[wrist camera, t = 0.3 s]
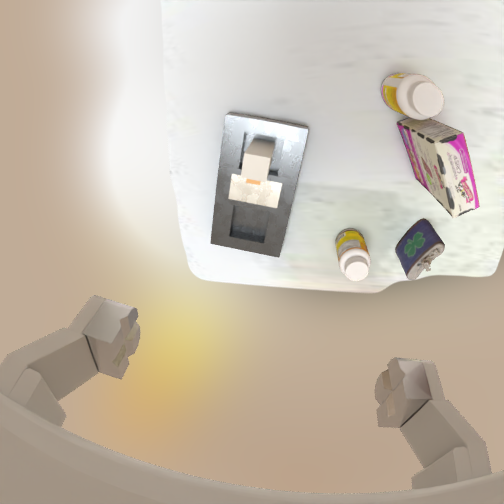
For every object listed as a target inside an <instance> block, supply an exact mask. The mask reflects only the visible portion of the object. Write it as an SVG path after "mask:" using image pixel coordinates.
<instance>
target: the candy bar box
mask: <svg viewBox="0 0 504 504" xmlns="http://www.w3.org/2000/svg"><path fill="white" fill-rule="evenodd" d="M397 125H398V128H399V130H400V133H401V135H402V138H403V141H404V144H405V147H406V149H407V152H408V155H409V158H410V161H411V164H412V167H413V170H414V174H415V177H416V179H417V180H418V181H419V182H420V183H421V184H422V185H423V186H424V187H425V188H426V189H427V190H428V191H429V192H430V193H431V194H432V195H433V196H434V197H435V199H436V200H437V201H438V202H439V203H440V204H441V205H442V206H443V207H444V208H445V209H446V210H447V211H448V213H449V214H450V215H451V216H452V217H453V218H455V217H458V216H460V215H462V214H464V213H466V212H469V211H470V210H475V209H476V208H478V207H480V206H479V200H478V194H477V189H476V184H475V179H474V174H473V170H472V165H471V161H470V156H469V152H468V148H467V144H466V140H465V137H464V133H463V132H461V131H458V130H456V129H454V128H451V127H449V126H447V125H444V124H442V123H439V122H437V121H435V120H432V119H429V118H428V119H425V120H417V119H413V118H409V119H405V120H402V121H399V122H397Z"/></svg>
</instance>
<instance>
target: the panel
mask: <svg viewBox="0 0 504 504" xmlns="http://www.w3.org/2000/svg"><path fill="white" fill-rule="evenodd" d="M307 135H308V127H307V126H303V125H298V124H293V123H288V122H283V121H278V120H273V119H268V118H262V117H256V116H250V115H244V114H237V113H231V112H229V113H228V114H226V116H225V123H224V131H223V138H222V146H221V154H220V162H219V170H218V179H217V187H216V196H215V205H214V215H213V224H212V234H211V244H215V245H220V246H225V247H230V248H235V249H240V250H245V251H249V252H254V253H259V254H264V255H269V256H274V257H279V256H280V252H281V248H282V244H283V240H284V236H285V231H286V227H287V223H288V219H289V214H290V210H291V206H292V202H293V197H294V193H295V189H296V184H297V180H298V175H299V171H300V166H301V162H302V157H303V153H304V148H305V144H306V139H307ZM253 139H260V140H265V141H271V142H275V147H274V152H273V158H272V163H271V166H270V170H269V173H268V177H267V181H266V182H262V181H261V183H260V185H256V184H251V183H246V178H241V172H242V165H243V159H244V153H245V151H246V150H247V148H248V147H249V145H250V144H251V142H252V140H253Z"/></svg>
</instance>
